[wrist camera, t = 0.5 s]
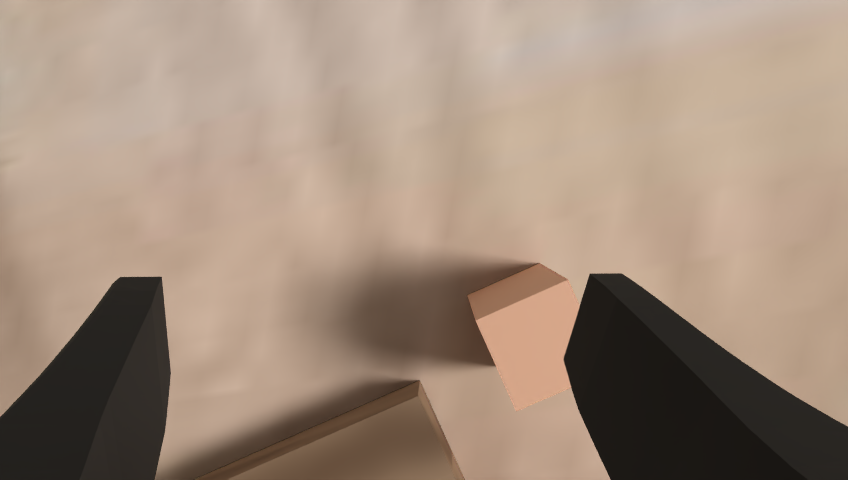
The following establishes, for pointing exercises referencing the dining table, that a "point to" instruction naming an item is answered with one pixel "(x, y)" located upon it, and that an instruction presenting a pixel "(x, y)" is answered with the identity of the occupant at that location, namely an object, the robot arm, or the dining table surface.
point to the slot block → (359, 446)
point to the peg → (528, 331)
